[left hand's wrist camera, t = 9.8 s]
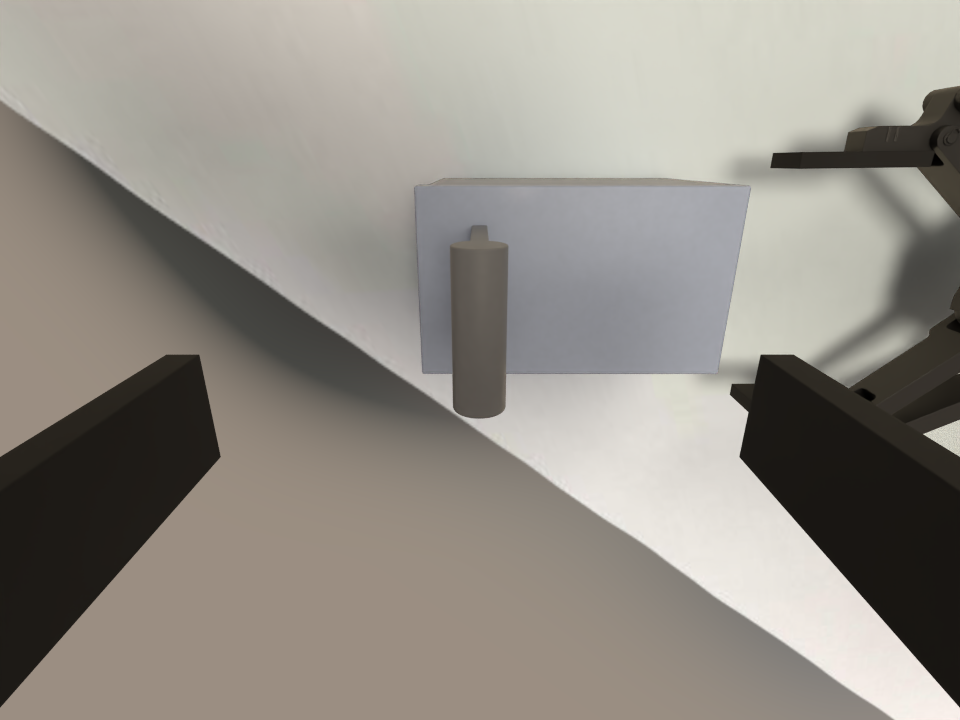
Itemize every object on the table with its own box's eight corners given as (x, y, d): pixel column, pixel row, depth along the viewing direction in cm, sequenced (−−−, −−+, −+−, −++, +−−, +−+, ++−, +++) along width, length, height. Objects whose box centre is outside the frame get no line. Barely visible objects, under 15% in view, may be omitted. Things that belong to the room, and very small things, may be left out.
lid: (424, 365, 27) (399, 457, 19) (417, 184, 24) (382, 197, 15) (708, 365, 27) (810, 457, 19) (739, 184, 24) (880, 197, 15)
